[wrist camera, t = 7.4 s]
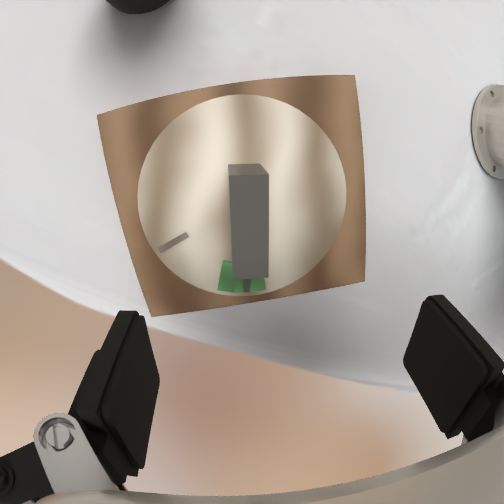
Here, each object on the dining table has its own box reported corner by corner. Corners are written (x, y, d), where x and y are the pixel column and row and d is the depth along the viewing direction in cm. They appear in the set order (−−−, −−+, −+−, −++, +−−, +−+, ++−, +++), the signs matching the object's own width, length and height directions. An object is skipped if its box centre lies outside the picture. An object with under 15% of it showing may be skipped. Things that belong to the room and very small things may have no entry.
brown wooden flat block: (342, 78, 25) (357, 74, 22) (354, 268, 33) (366, 283, 30) (108, 115, 24) (94, 115, 21) (156, 301, 33) (150, 320, 29)
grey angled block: (227, 162, 24) (228, 175, 18) (258, 161, 24) (268, 174, 18) (233, 289, 28) (235, 331, 23) (259, 288, 29) (267, 329, 23)
